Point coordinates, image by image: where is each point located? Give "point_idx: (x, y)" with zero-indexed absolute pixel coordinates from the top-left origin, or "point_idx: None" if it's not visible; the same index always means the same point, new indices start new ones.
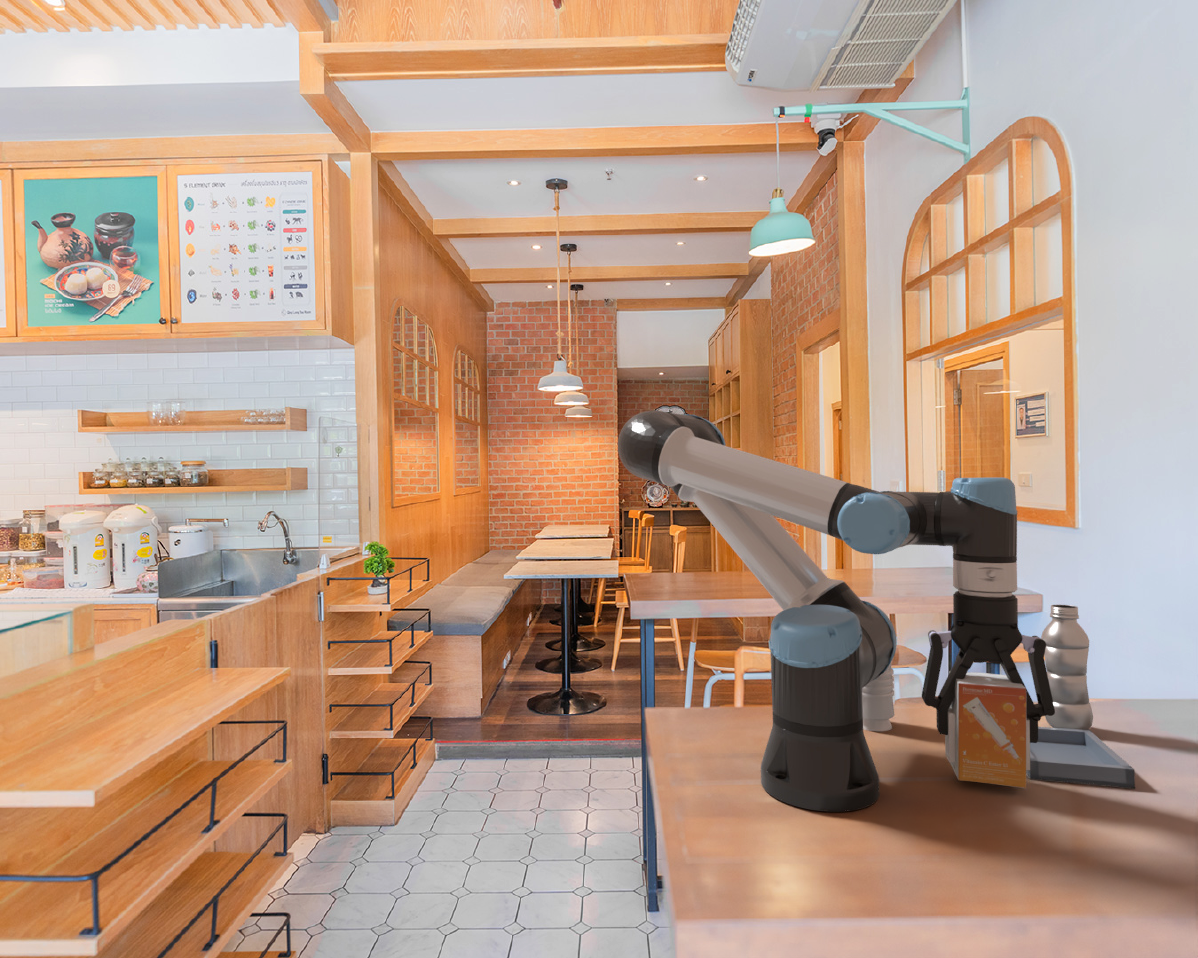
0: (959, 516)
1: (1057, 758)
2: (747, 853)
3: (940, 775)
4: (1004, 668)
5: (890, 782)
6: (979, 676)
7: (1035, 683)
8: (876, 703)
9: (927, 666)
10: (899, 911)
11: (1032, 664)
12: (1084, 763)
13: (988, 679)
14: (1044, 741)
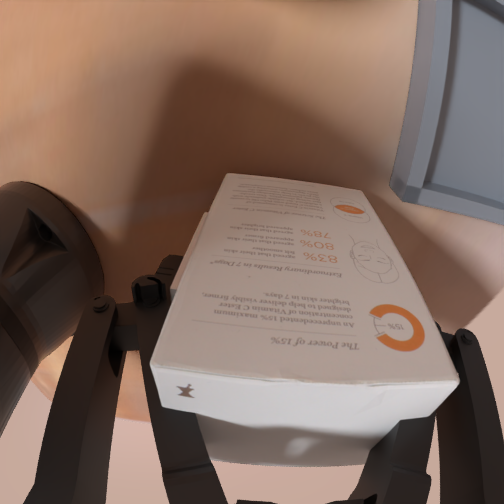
0: None
1: (484, 103)
2: (44, 366)
3: (206, 184)
4: (364, 485)
5: (115, 230)
6: (280, 429)
7: (458, 416)
8: None
9: (56, 407)
10: (145, 419)
11: (456, 485)
12: (489, 210)
13: (299, 445)
14: (497, 13)
